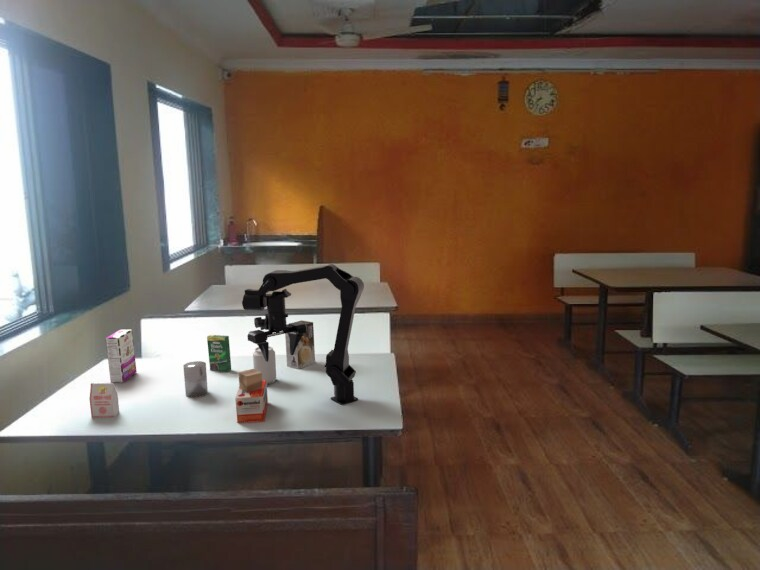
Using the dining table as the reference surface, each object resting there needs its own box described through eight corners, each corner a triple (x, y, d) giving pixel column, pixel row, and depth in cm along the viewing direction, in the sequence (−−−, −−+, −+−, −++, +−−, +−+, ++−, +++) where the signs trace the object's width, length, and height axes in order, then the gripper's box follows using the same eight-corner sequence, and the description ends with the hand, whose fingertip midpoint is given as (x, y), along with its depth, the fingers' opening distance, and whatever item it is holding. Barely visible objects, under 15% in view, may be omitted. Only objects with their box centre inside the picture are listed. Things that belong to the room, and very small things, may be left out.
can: (278, 378, 211) (277, 345, 209) (273, 385, 204) (271, 351, 202) (258, 377, 212) (256, 344, 210) (251, 384, 205) (249, 351, 202)
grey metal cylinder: (211, 394, 197) (209, 364, 195) (190, 399, 192) (188, 369, 190) (202, 388, 202) (200, 359, 200) (182, 393, 198) (180, 364, 196)
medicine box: (242, 404, 188) (240, 380, 186) (268, 402, 189) (267, 378, 187) (236, 424, 173) (234, 397, 172) (265, 422, 174) (263, 396, 173)
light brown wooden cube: (262, 388, 179) (261, 372, 178) (247, 392, 176) (246, 376, 175) (254, 384, 183) (253, 368, 182) (239, 388, 180) (238, 372, 179)
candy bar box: (123, 372, 220) (119, 329, 217) (137, 372, 220) (133, 329, 217) (109, 383, 209) (104, 337, 206) (123, 383, 209) (119, 337, 206)
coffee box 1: (208, 370, 221) (206, 335, 218) (213, 367, 223) (211, 333, 221) (227, 372, 218) (225, 337, 216) (231, 370, 221) (229, 335, 218)
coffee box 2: (303, 360, 231) (301, 319, 228) (315, 363, 227) (314, 322, 224) (286, 366, 224) (284, 324, 221) (298, 369, 220) (296, 327, 217)
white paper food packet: (97, 412, 183) (93, 381, 181) (119, 412, 183) (116, 381, 181) (91, 417, 179) (88, 385, 177) (114, 417, 179) (110, 385, 177)
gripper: (288, 302, 201) (291, 347, 204) (237, 311, 190) (241, 359, 192) (306, 307, 193) (309, 354, 196) (254, 317, 181) (258, 366, 184)
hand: (279, 358), depth 192 cm, fingers open, 9 cm apart
